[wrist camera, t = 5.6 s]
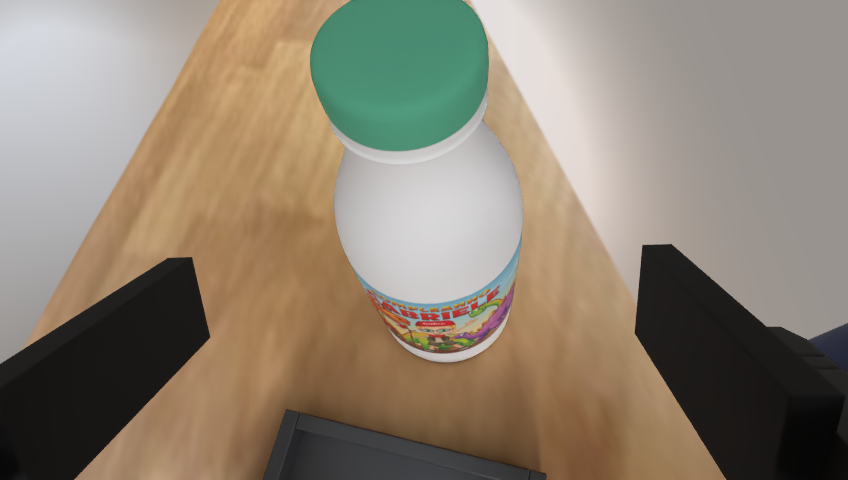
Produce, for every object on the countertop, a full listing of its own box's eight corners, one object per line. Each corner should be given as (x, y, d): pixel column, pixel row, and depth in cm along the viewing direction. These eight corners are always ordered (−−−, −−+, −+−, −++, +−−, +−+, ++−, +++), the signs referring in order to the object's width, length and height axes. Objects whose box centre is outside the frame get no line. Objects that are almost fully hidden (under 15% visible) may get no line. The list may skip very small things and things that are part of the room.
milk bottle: (373, 262, 32) (234, -20, 14) (488, 231, 32) (498, -88, 14) (398, 380, 28) (257, 209, 10) (528, 345, 28) (608, 116, 11)
